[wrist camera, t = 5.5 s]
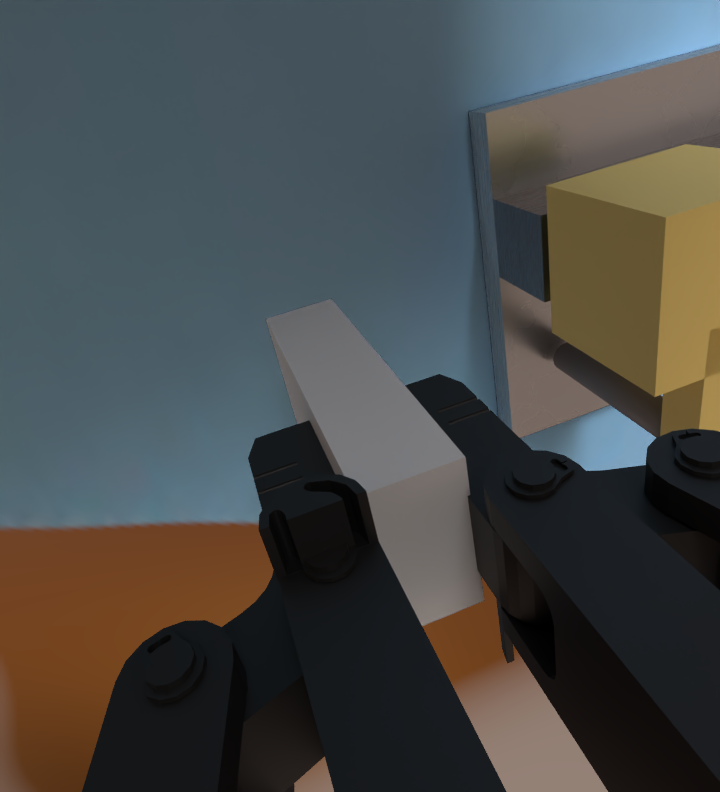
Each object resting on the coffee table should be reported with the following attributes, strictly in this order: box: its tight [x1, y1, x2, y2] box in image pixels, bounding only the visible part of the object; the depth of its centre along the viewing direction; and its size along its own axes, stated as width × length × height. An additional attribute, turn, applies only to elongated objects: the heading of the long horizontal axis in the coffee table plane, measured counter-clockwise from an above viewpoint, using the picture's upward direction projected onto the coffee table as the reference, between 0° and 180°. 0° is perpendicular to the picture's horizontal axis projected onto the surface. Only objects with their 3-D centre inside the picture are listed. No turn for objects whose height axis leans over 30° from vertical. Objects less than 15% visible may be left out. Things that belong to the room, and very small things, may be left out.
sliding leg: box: [546, 144, 720, 438], centre depth 16 cm, size 4×8×6 cm, turn 12°
